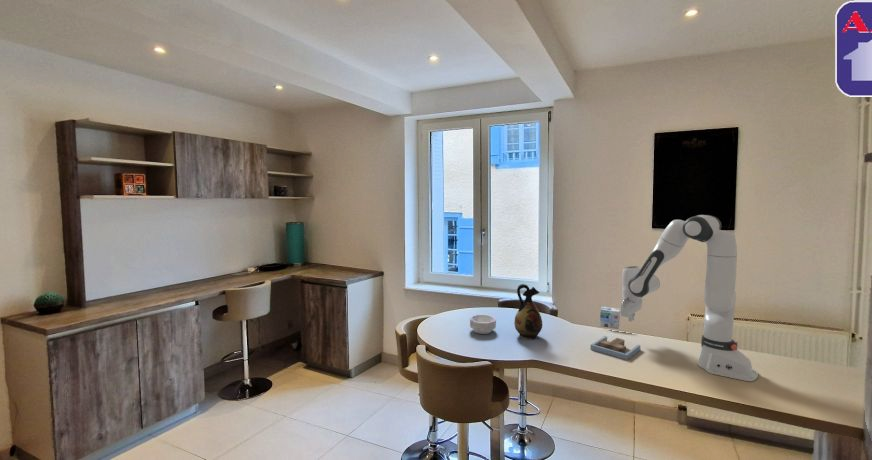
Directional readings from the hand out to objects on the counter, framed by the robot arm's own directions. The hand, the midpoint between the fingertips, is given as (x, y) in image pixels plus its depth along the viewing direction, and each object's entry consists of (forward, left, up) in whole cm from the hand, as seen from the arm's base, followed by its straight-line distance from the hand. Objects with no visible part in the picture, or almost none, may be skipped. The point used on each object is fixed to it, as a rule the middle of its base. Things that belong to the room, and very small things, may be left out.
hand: (631, 320), depth 218 cm
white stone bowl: (+67, +45, -12) cm, 81 cm away
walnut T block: (+1, +17, -11) cm, 20 cm away
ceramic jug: (+44, +34, -12) cm, 57 cm away
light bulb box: (+18, -15, -12) cm, 26 cm away
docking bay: (+1, +17, -11) cm, 20 cm away
